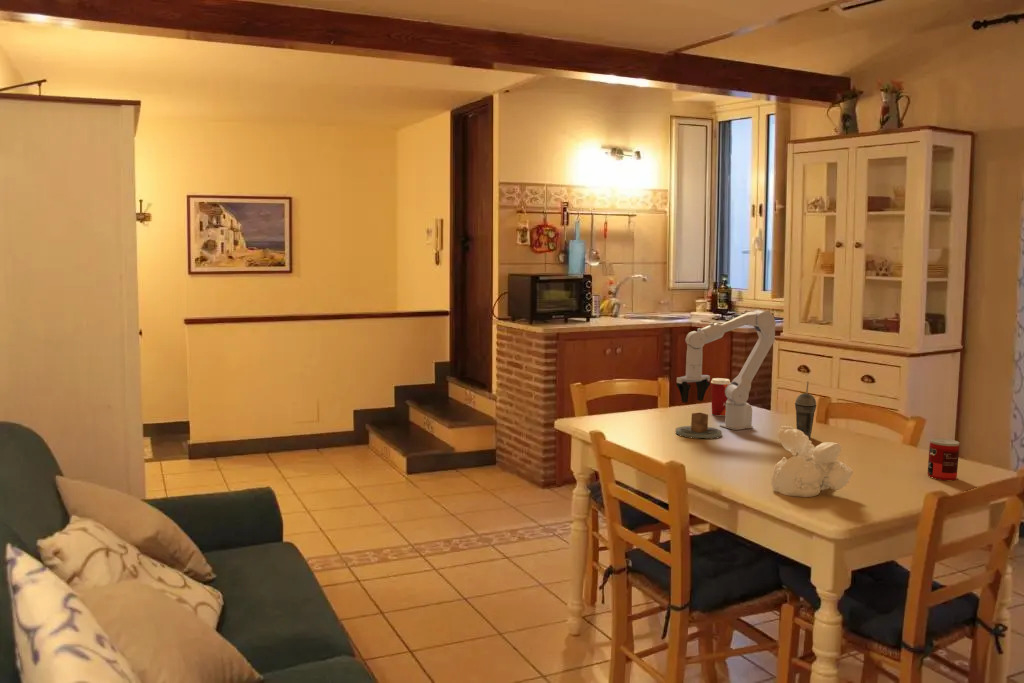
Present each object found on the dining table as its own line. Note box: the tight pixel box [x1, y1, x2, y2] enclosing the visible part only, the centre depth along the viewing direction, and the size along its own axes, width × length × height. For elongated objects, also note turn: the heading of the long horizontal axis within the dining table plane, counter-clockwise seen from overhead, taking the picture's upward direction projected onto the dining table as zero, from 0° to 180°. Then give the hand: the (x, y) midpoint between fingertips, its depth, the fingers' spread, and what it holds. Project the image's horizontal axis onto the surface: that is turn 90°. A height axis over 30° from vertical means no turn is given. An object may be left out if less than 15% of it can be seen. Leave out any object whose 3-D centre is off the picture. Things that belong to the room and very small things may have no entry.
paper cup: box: [710, 377, 732, 416], centre depth 356 cm, size 8×8×14 cm
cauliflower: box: [770, 424, 854, 498], centre depth 251 cm, size 19×20×20 cm
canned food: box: [927, 437, 960, 481], centre depth 269 cm, size 8×8×11 cm
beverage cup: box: [794, 381, 817, 439], centre depth 318 cm, size 7×7×20 cm
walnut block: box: [690, 412, 709, 432], centre depth 320 cm, size 4×4×6 cm
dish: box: [675, 425, 723, 439], centre depth 321 cm, size 16×16×1 cm
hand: (692, 401), depth 331 cm, fingers open, 7 cm apart
